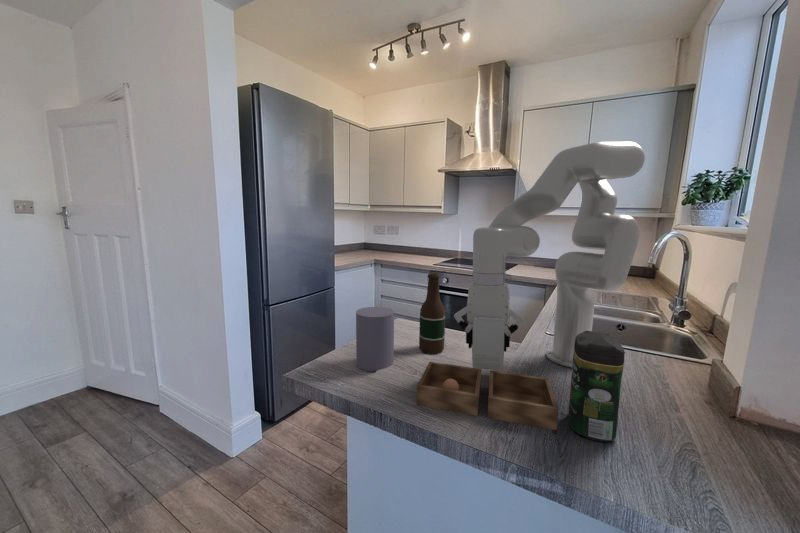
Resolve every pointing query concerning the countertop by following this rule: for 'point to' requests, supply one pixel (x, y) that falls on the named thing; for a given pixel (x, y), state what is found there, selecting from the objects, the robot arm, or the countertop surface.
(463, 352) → the countertop surface
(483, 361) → the supplement box
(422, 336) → the beer bottle
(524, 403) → the bin
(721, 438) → the countertop surface
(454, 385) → the ball
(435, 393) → the bin
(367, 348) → the container
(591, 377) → the coffee jar
